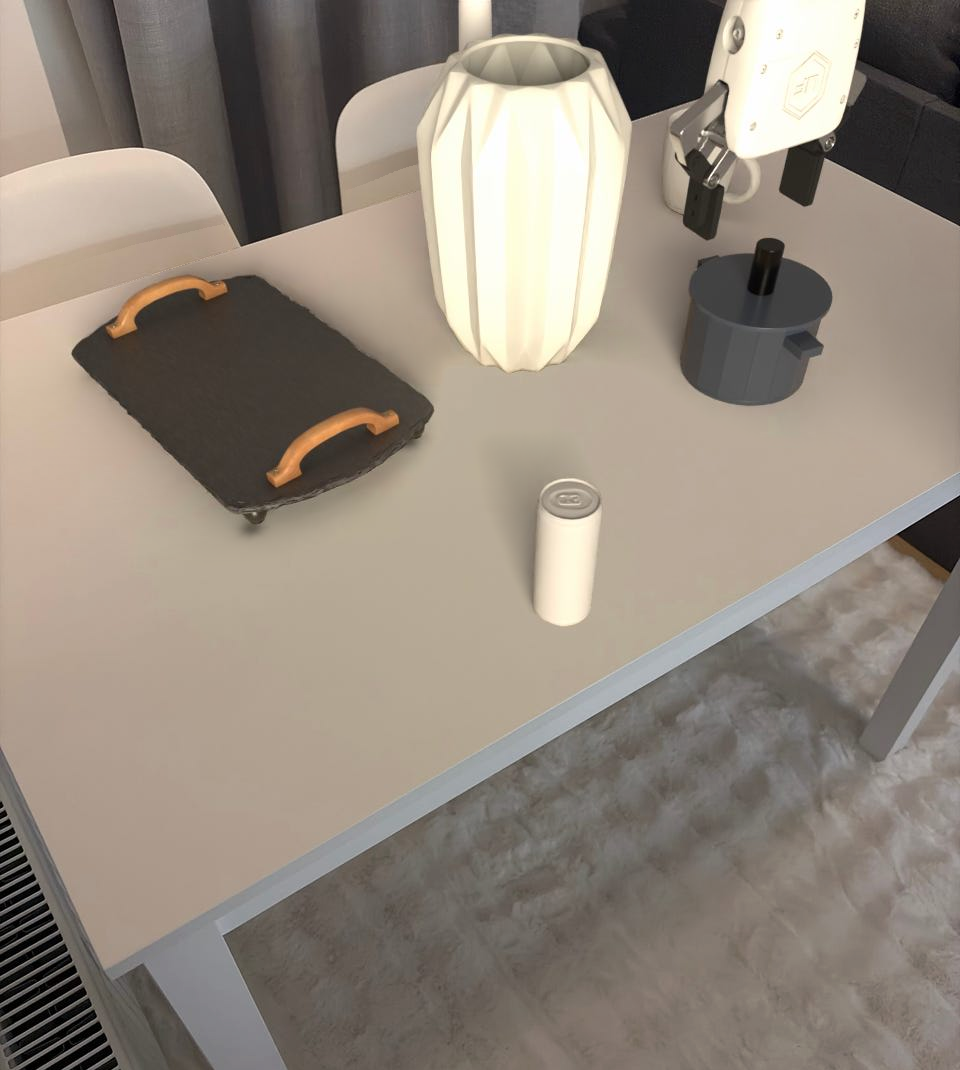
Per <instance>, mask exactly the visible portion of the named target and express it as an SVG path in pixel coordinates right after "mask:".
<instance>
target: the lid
mask: <svg viewBox="0 0 960 1070" xmlns="http://www.w3.org/2000/svg"><path fill="white" fill-rule="evenodd" d="M785 248H786V245H785V242H783V240H780V239H779V238H775V237H762V238H760V239H758V240H757V241H756V244H755V248H754V252H744V253H732V254H727V255H721V256H720V257H718V258H715V259H712V260H710V261H708V262H706V263H704V264H702V265H701V266H700V267H698V268H697V267H696V269H695V270H694V271H693V273H692V275H691V276H690V279H689V282H688V295H689V297H690V300H692V301H693V303H694V304H695V305H696V307H697V308H698V309H699V310H700V311H702V312H703V313H704V314H705V315H707V316H709V317H710V318H712V319H714V320H716V321H718V322H720V323H722V324H725V325H727V326H730V327H734V328H737V329H741V330H746V331H752V332H761V333H783V332H791V331H796V330H800V329H803V328H806V327H809V326H811V325H813V324H815V323H817V322H818V321H820V320H821V321H822V320H823V319H824V318H825V317H826V316H827V314H828V313H829V312H830V309H831V307H832V304H833V297H834V296H833V292H832V288H831V286H830V284H829V283H828V281H827V280H826V279H825V278H824V277H823V276H822V275H820V273H818V272H817V271H816V270H814V269H813V268H811V267H809V266H807V265H805V264H803V263H801V262H798V261H796V260H793V259H791V258H786V257H783V256H784V252H785Z"/></svg>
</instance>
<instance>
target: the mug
mask: <svg viewBox="0 0 960 1070" xmlns="http://www.w3.org/2000/svg"><path fill="white" fill-rule="evenodd" d="M689 108H690V107H686V108H683V109H680V110H677V111H675V112H674V113H673V114H672V115H670V116H669V117H668V118H667V122H666V124H665V125H666V126H665V133H664V138H663V146H662V158H661V160H662V161H661V184H662V185H661V186H662V195H663V198H664V201H665V203H666V205H667V207H668V208H670V210H672V211H673V212H675V213H678V214H679V215H682V216H684V209H685V203H686V197H687V191H688V184H689V178H690V176H688V175H686V174H685V173H684V171H683V168H682V167H681V165H680V164H679V163H678V162H677V161H676V159H675V152H676V151H674V147H673V144H672V140H671V137H670V133H669V129H670V126H671V124H672V123H673V122H674V121H675V120H676V119H677V118H679V117H680V116H681V115H682V114H683V113H684V112H685V111H686V110H688V109H689ZM702 137H703V136H702V134H701V133H700V134H699V136H698V143H699V141H700V140H701V138H702ZM725 137H726V136H725ZM721 150H722V149H721V148H719V147H717V146H716V147H715V148H714V150H713V151H712V153H711V154H710V156H709V157H708V159H707V160H708V162H709V163H710V164H711V165H712V163H713V162H714V160H715V159H716V157H717V156H718V154H719V153H720V152H721ZM738 159H739V160H741V161H742V162H743V163H744V165H746V167H747V169H748V171H749V177H750V180H749V181H750V182H749V185H748V187H747V189H745V190H744V191H743V192H740V193H732V192H728V189H729V187H730V184H731V181H732V179H733V175H734V172H735V170H736V166H737V162H738ZM761 179H762V170H761V166H760V163H759V161H758V158H754V159H748V160H747V159H741V158H739V157H737V158H736V159H735V160H734V162H733V163H732V165H731V166H730V168H729V169H728V171H727V172H726V173H725V175H724V176H723V178H722V179H721V181H720V182H719V184H720V185H722V186H724V187H725V188H724V189H725V192H724V197H723V202H724V203H726V204H729V205H740V204H743V203H745V202H748V200H750V199H751V198H752V197H754V195H755V194H756V192H757V191H758V189H759V186H760V184H761ZM723 202H722V203H723Z"/></svg>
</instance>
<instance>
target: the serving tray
mask: <svg viewBox="0 0 960 1070" xmlns="http://www.w3.org/2000/svg"><path fill="white" fill-rule="evenodd" d="M71 356H72V359H73V360H74V362H76V363H77V364H78V365H79V366H80V367H82V369H83V370H84V371H85V372H86V373H87V374H88V375H89V376H90V378H92V379H93V380H94V381H95V382H96V383H97V384H98V385H99V386H101V388H103V390H105V391H106V393H107V395H108V396H110V397H111V398H112V399H113V400H115V401H116V402H117V403H118V404H119V406H120V407H122V408H123V409H124V410H125V412H126V413H127V415H129V416H131V417H132V418H133V419H134V420H135V421H136V422H137V423H138V424H140V426H141V427H140V428H141V429H143V430H145V431H147V432H148V433H149V435H150V436H151V438H152V439H153V440H155V441H156V442H157V443H158V444H160V445H161V447H162V449H163V450H165V451H166V452H167V453H168V454H169V455H170V456H172V458H174V460H175V461H176V462H177V463H178V464H179V465H181V466H182V467H183V468H184V469H185V470H186V471H187V472H188V473H189V474H190V476H192V477H193V478H194V480H196V481H197V482H198V483H199V484H200V485H201V486H202V487H203V488H204V489H205V490H206V491H207V492H208V493H209V494H211V496H212V497H214V498H213V499H215V500H216V501H217V502H218V503H220V505H222V506H223V507H224V508H225V509H226V510H228V511H229V512H230V513H232V514H235V515H242V516H243V517H244V518H245V519H246V520H247V521H248V522H249V523H250V524H253V525H260V524H262V523H263V522H264V521H265V519H266V517H267V514H268V511H271V510H277V509H279V508H280V507H282V506H288V505H292V504H297V503H299V502H303V501H306V500H309V499H313V498H316V497H317V496H319V495H321V494H323V493H326V492H328V491H330V490H333V489H335V488H338V487H340V486H343V485H345V484H349V483H350V482H353V481H355V480H357V479H359V478H361V477H363V476H364V475H366V474H368V473H369V472H371V471H372V470H374V469H375V468H377V467H378V466H380V465H382V464H384V463H385V462H386V461H387V460H388V459H389V458H391V456H393V455H394V454H396V453H397V452H400V450H402V449H403V448H405V447H406V446H407V445H408V444H409V443H410V442H411V441H412V440H416V439H419V438H421V437H422V435H423V433H424V432H425V428H426V424H428V423H429V422H430V420H431V418H432V416H433V415H434V412H435V407H434V405H433V403H432V402H431V401H430V400H429V398H427V397H426V396H425V395H424V394H422V393H421V392H419V391H418V390H416V389H415V388H413V386H411V385H410V384H409V383H408V382H406V381H404V380H403V379H401V378H400V377H399V376H397V375H396V374H395V373H394V372H392V371H391V369H389V368H388V367H387V366H386V365H384V364H383V363H382V362H380V361H379V360H377V359H376V358H374V357H371V356H369V355H368V354H367V353H365V352H363V351H361V350H360V349H359V348H357V346H355V345H354V343H352V341H351V340H350V339H349V338H348V337H347V336H345V335H344V334H342V333H341V332H340V331H338V330H337V329H335V328H333V327H331V326H330V325H328V323H326V322H324V321H323V320H321V319H319V318H318V317H317V316H316V315H315V314H314V313H312V312H311V310H310V308H308V307H306V306H303V305H301V304H299V303H298V302H296V301H294V300H292V299H291V298H290V297H289V296H287V295H286V294H283V292H282V291H281V290H280V289H278V287H276V286H274V285H273V284H270V283H269V282H268V281H267V280H266V279H265V278H263V277H261V276H259V275H257V274H246V275H245V274H243V275H235V276H233V277H227V278H221V279H217V280H216V279H215V280H210V281H208V280H206V279H204V278H202V277H200V276H198V275H195V274H189V273H188V274H181V275H176V276H175V275H174V276H171V277H168V278H166V279H162V280H160V281H158V282H155V283H153V284H150V285H148V286H146V287H144V288H143V289H141V290H139V291H137V292H136V293H134V294H133V295H131V296H130V297H129V298H128V299H127V300H126V302H125V303H124V304H123V306H122V308H121V309H120V312H119V313H118V315H116V316H114V317H113V318H111V319H110V320H109V321H107V322H105V323H104V324H102V325H100V326H99V327H98V328H97V329H95V330H94V331H93V332H91V334H89V335H88V336H86V337H83V338H82V339H81V340H80V341H78V342H77V343H76V345H75V346H74V347H73V348H72V350H71Z"/></svg>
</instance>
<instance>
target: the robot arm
mask: <svg viewBox="0 0 960 1070" xmlns="http://www.w3.org/2000/svg"><path fill="white" fill-rule="evenodd" d="M866 1H867V0H726V1H725V2H726V3H725V4H724V5H725V6H724V9H723V11H722V15H721V19H720V22H719V25H718V30H717V33H716V37H715V41H714V45H713V49H712V53H711V58H710V61H709V66H708V71H707V75H706V81H705V86H704V92H703V95H702V96H701V97H700V98H698V99H697V100H696V101H695V102H693V104H692V105H691V106H689V107H688V108H689V109H688V110H686V111H685V112H684V113H683V114H682V115H681V116H680V117H679V118H677V119H676V120H675V121H674V122H673V123H672V124H671V126H670V129H669V133H670V137H671V140H672V144H673V147H674V151H676V152H675V159H676V161H677V162H678V163H679V164H680V165H681V167H682V168H683V171H684V173H685V174H686V175H688V176H690V178H689V184H688V191H687V197H686V203H685V209H684V215H682V225H683V226H684V227H685V228H687V229H688V230H690V231H691V232H693V233H694V234H696V235H697V236H698V237H700V238H702V239H703V240H704V241H706V242H707V241H711V240H714V239H715V238H716V236H717V233H718V228H719V222H720V218H721V212H722V207H723V197H724V192H725V189H724V188H725V187H724V186H722V185H720V184H719V182H720V181H721V179H722V178H723V176H724V175H725V173H726V172H727V171H728V169H729V168H730V166H731V165H732V163H733V162H734V160H735V159H736V158H737V157H739V158H741V159H747V160H748V159H754V158H757V159H758V158H761V157H764V156H768V155H772V154H774V153H778V152H781V151H784V150H787V153H786V157H785V162H784V166H783V169H782V175H781V177H780V178H781V179H780V183H779V188H778V191H779V193H780V194H782V195H783V196H785V197H787V198H788V199H790V200H792V201H793V202H795V203H797V204H798V205H799V206H802V207H804V208H805V207H806V208H807V207H809V206H811V205H813V203H814V200H815V197H816V192H817V189H818V185H819V182H820V178H821V173H822V170H823V166H824V164H825V163H824V162H825V159H826V155H827V154H826V153H827V152H828V153H829V151H831V150H832V149H833V148H834V146H835V144H836V141H837V137H836V134H837V133H839V130H841V128H842V127H843V126H844V125H845V123H846V122H847V121H848V119H849V118H850V116H851V112H852V107H851V106H854V105H855V102H856V101H857V99H858V97H859V96H860V94H861V92H862V90H863V89H864V87H865V84H866V83H867V75H866V74H864V73H863V72H861V71H859V70H858V69H856V64H857V58H858V54H859V48H860V44H861V38H862V32H863V26H864V17H865V12H866V11H865V9H866ZM700 133H701V134H702V136H703V137H702V138H701V140H700V141H699V143H698V136H699V134H700ZM725 136H726V137H725ZM716 146H717V147H719V148H721V149H722V150H721V152H720V153H719V154H718V156H717V157H716V159H715V160H714V162H713V163H712V165H711V164H710V163H709V162H708V160H707V159H708V157H709V156H710V154H711V153H712V151H713V150H714V148H715V147H716ZM739 158H737V159H739ZM741 159H740V160H741Z"/></svg>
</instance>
